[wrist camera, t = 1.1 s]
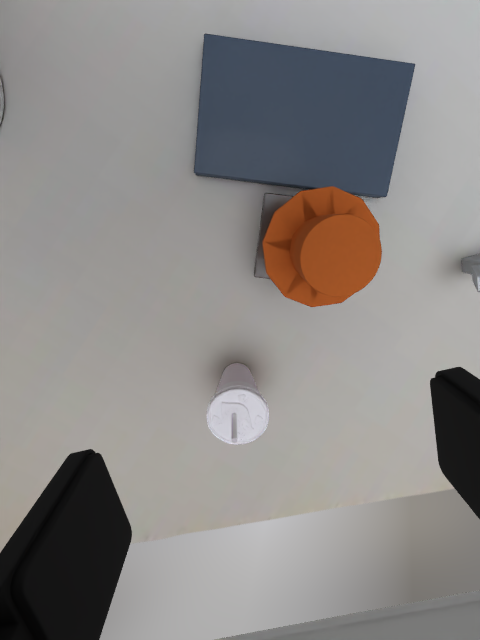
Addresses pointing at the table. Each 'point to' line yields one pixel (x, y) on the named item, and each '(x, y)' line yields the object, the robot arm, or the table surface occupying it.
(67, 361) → the table surface
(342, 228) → the hat
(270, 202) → the hat stand
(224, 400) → the smoothie
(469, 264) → the lighter
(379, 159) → the low stand
